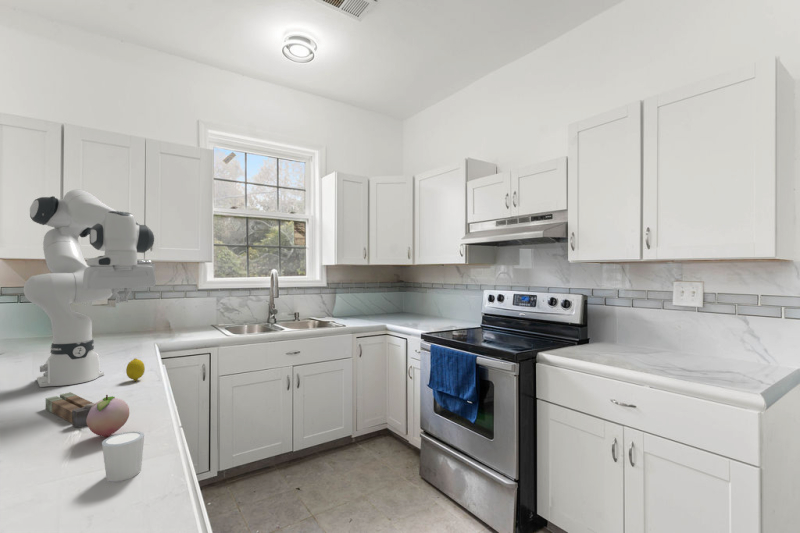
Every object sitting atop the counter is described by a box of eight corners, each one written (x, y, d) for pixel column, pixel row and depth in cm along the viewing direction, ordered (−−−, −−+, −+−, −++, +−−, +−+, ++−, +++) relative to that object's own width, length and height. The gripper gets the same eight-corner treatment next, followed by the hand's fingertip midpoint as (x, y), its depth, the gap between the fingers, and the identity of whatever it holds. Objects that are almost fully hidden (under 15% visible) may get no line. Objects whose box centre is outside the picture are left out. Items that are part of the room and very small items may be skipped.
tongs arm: (96, 415, 109) (96, 404, 109) (85, 418, 107) (85, 407, 107) (70, 402, 121) (70, 392, 121) (60, 404, 119) (59, 394, 119)
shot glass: (116, 466, 82) (115, 431, 82) (151, 464, 82) (151, 430, 82) (93, 484, 75) (92, 446, 75) (132, 482, 75) (131, 444, 75)
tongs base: (43, 409, 116) (43, 393, 116) (71, 403, 121) (70, 387, 121) (77, 428, 102) (76, 409, 102) (106, 419, 107) (106, 402, 107)
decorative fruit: (129, 439, 94) (128, 396, 95) (84, 448, 90) (84, 403, 90) (130, 426, 102) (129, 386, 102) (89, 433, 98) (89, 392, 98)
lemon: (135, 383, 141) (135, 360, 141) (122, 382, 142) (122, 360, 142) (148, 378, 147) (148, 356, 147) (135, 378, 148) (135, 356, 148)
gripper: (150, 260, 143) (150, 299, 143) (80, 260, 126) (80, 304, 126) (159, 260, 139) (159, 300, 139) (88, 259, 122) (88, 305, 122)
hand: (121, 302), depth 132 cm, fingers closed
